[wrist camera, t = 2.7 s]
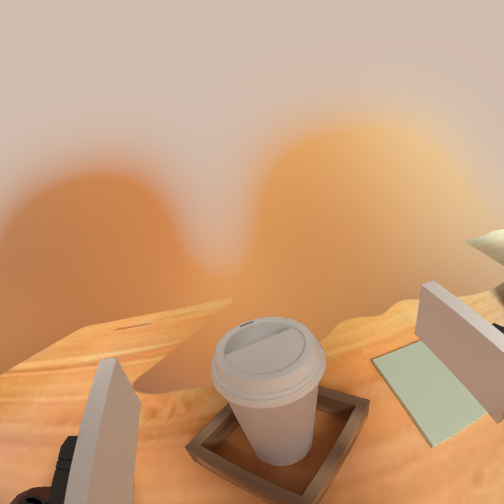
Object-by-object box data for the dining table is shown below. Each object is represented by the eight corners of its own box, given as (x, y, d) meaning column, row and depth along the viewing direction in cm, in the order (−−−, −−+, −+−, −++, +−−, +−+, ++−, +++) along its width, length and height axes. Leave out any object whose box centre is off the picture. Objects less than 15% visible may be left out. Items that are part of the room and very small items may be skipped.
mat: (372, 362, 38) (372, 359, 38) (456, 326, 40) (457, 323, 40) (431, 448, 24) (433, 445, 23) (521, 386, 25) (522, 383, 25)
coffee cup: (318, 405, 34) (313, 303, 28) (333, 470, 25) (338, 377, 19) (240, 416, 34) (210, 319, 29) (239, 482, 25) (198, 396, 20)
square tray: (264, 383, 39) (261, 367, 38) (367, 415, 31) (370, 400, 29) (193, 459, 29) (184, 447, 28) (307, 518, 20) (306, 510, 19)
